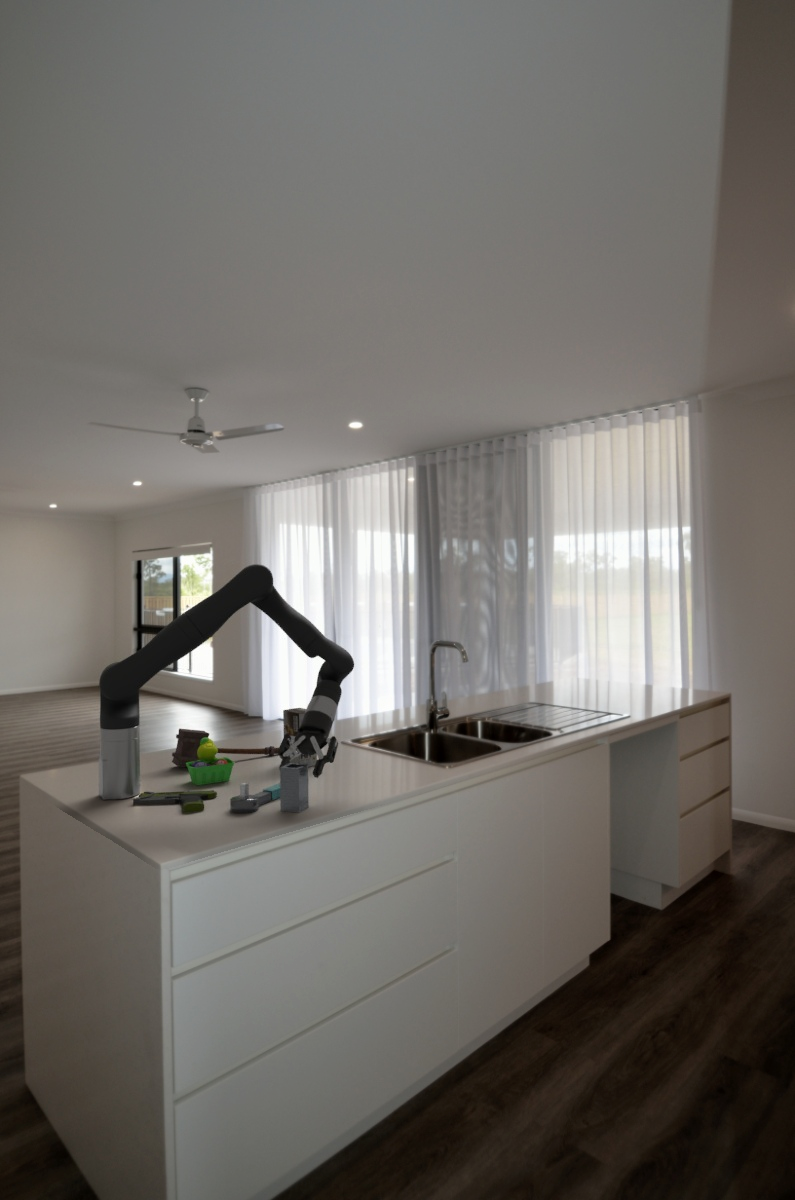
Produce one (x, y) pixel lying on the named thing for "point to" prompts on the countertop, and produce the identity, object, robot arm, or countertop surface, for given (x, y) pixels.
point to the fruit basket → (209, 765)
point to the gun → (177, 799)
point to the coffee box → (291, 726)
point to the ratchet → (252, 798)
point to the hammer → (191, 743)
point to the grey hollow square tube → (294, 787)
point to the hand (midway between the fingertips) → (298, 774)
